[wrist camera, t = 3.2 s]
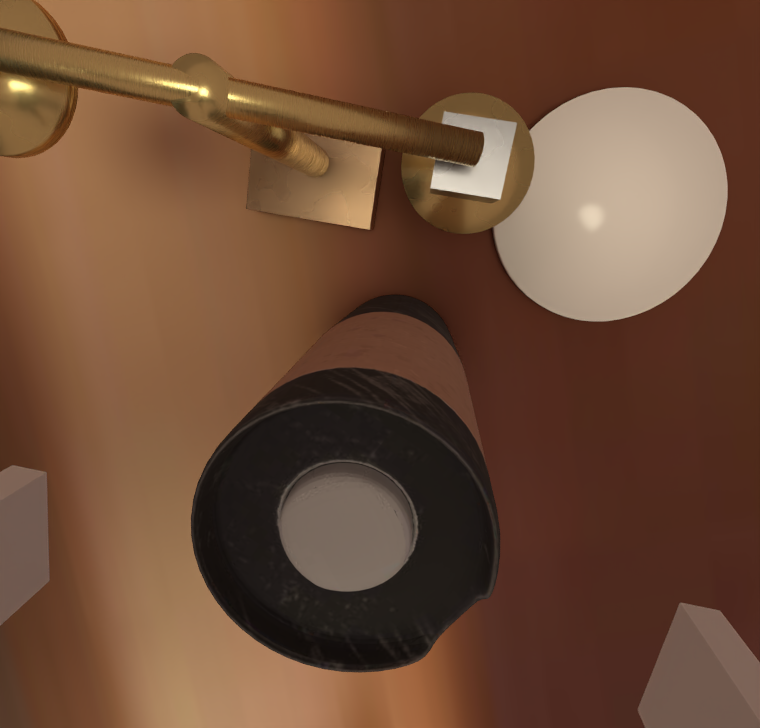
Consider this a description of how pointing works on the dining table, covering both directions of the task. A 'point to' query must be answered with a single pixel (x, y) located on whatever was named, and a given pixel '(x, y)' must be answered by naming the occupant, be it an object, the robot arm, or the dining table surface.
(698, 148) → the cream round disc
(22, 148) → the balance
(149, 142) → the dining table surface
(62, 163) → the dining table surface
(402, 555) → the travel mug
